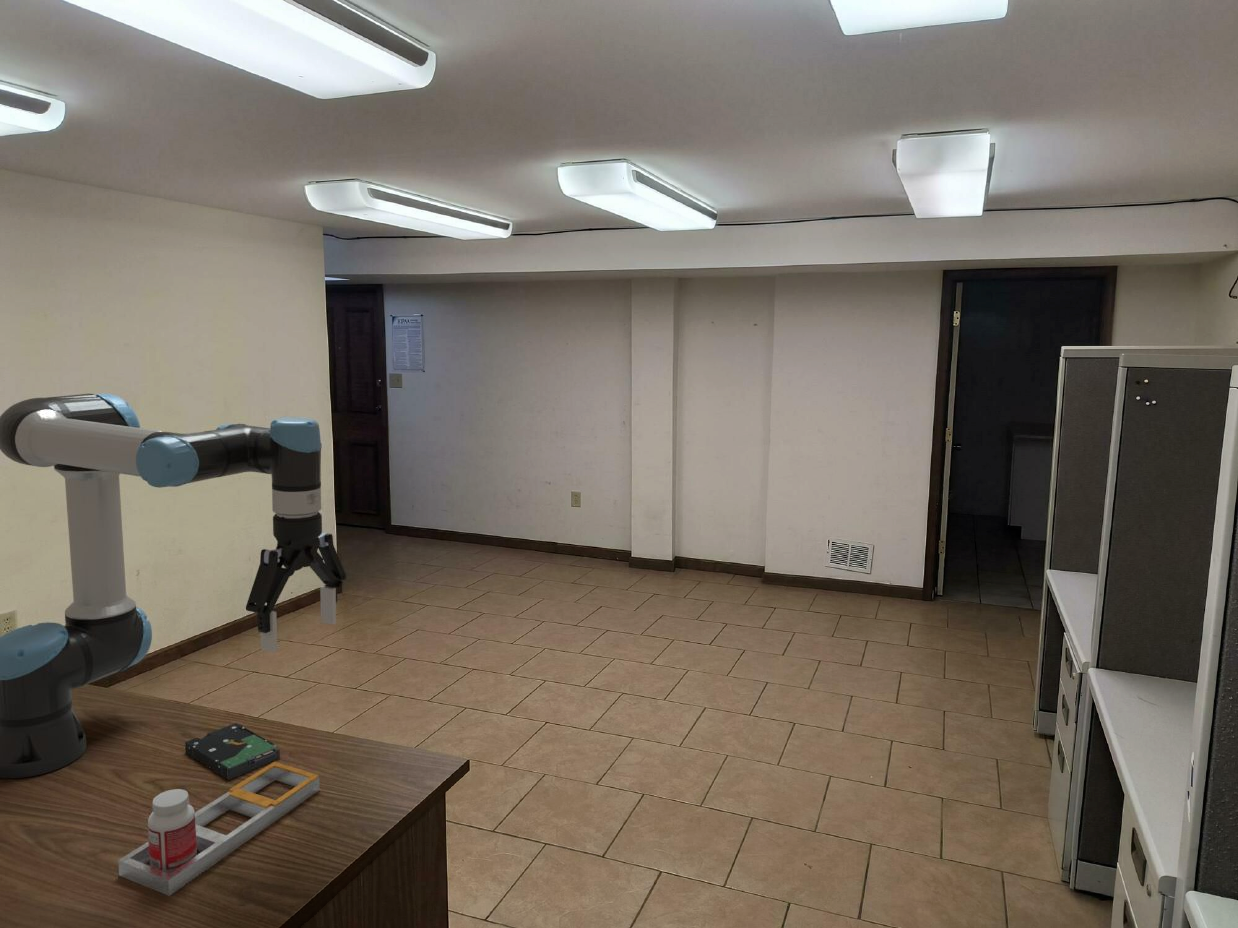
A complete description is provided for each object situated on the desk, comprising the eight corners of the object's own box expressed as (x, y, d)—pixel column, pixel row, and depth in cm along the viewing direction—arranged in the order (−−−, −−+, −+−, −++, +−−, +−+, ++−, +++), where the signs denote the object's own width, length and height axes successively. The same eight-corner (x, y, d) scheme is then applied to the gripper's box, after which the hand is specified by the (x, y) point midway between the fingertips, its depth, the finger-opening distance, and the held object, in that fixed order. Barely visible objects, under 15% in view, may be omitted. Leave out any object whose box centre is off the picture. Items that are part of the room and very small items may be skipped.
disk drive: (184, 756, 156) (228, 782, 148) (183, 742, 156) (228, 768, 147) (236, 735, 165) (281, 759, 156) (236, 721, 164) (281, 745, 156)
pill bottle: (204, 852, 128) (201, 786, 126) (185, 879, 122) (182, 810, 120) (163, 851, 128) (159, 785, 126) (141, 878, 122) (137, 809, 120)
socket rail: (119, 875, 122) (118, 858, 122) (274, 775, 150) (274, 761, 149) (169, 895, 119) (168, 877, 118) (319, 789, 146) (319, 775, 146)
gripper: (255, 532, 125) (259, 667, 129) (366, 501, 148) (367, 616, 152) (217, 525, 128) (222, 657, 132) (332, 496, 151) (334, 609, 154)
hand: (300, 635), depth 142 cm, fingers open, 13 cm apart
